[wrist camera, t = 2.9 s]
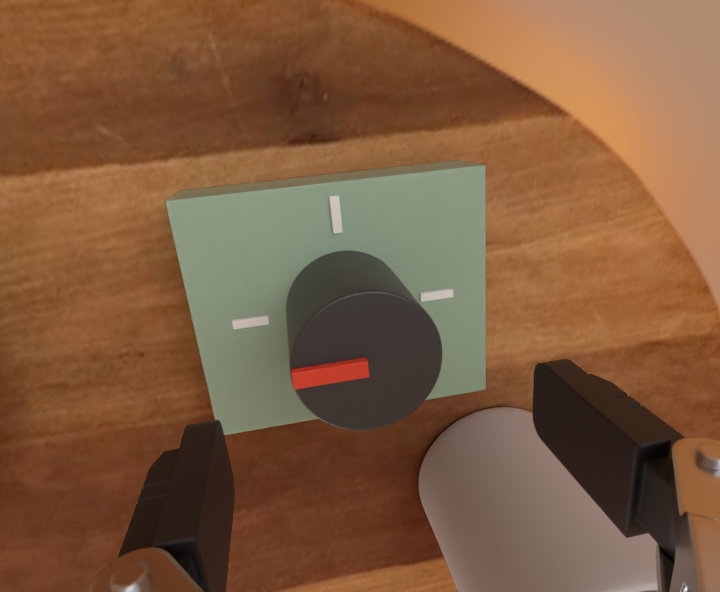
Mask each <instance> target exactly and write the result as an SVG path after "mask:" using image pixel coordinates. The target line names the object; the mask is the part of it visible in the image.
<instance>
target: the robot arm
mask: <svg viewBox="0 0 720 592" xmlns="http://www.w3.org/2000/svg"><path fill="white" fill-rule="evenodd" d="M533 423H534V426H535V429H536V432H537V434H538V436H539V438H540V439H541V440H542V441H543V443H544V444H545V445H546V446H547V447H548V448H549V450H550V451H551V452H552V453H553V454H554V455H555V457H556V458H557V459H558V460H559V461H560V462H561V463H562V465H563V466H564V467H565V468H566V469H567V470H568V472H569V473H570V474H571V475H572V476H573V477H574V478H575V480H576V481H577V482H578V483H579V484H580V485H581V487H582V488H583V489H584V490H585V491H586V492H587V493H588V495H589V496H590V497H591V498H592V499H593V500H594V502H595V503H596V504H597V505H598V506H599V507H600V509H601V510H602V511H603V512H604V513H605V514H606V515H607V517H608V518H609V519H610V520H611V521H612V522H613V524H614V525H615V526H616V527H617V528H618V529H619V530H620V532H621V533H622V534H623V535H624V536H625V537H626V538H629V537H634V536H638V535H642V534H647V533H649V535H650V536H651V537H652V538H653V539H654V540H655V541H656V542H657V546H656V570H657V588H658V592H720V441H719V440H716V439H711V438H705V437H687V438H685V437H684V436H683V435H681V434H680V433H679V432H677V431H676V430H675V429H673V428H672V427H670V426H669V425H668V424H666V423H665V422H664V421H662V420H661V419H660V418H658V417H657V416H656V415H654V414H653V413H652V412H650V411H649V410H648V409H646V408H645V407H644V406H640V403H638V402H637V401H636V400H634V399H633V398H632V397H630V396H627V394H626V393H625V392H624V391H622V390H621V389H620V388H618V387H617V386H616V385H614V384H613V383H612V382H609V381H607V380H605V379H602V378H600V377H597V376H595V375H593V374H587V373H586V372H585V371H583V370H582V369H581V368H579V367H578V366H577V365H576V364H574V363H573V362H572V361H570V360H569V359H561V360H555V361H550V362H544V363H539V364H537V365H536V367H535V370H534V390H533ZM234 499H235V492H234V480H233V473H232V468H231V464H230V460H229V455H228V451H227V446H226V442H225V437H224V433H223V428H222V425H221V422H220V421H219V420H214V421H208V422H203V423H197V424H191V425H187V426H186V427H185V430H184V434H183V437H182V441H181V445H180V448H179V449H174V450H168V451H164V452H163V454H162V455H161V456H160V457H159V458H158V459H157V460H156V461H155V463H154V464H153V465H152V466H151V467H150V469H149V472H148V474H147V477H146V480H145V483H144V489H142V491H141V494H140V497H139V500H138V501H139V504H137V505H136V508H135V511H134V514H133V517H132V520H131V522H130V525H129V528H128V531H127V534H126V536H125V539H124V542H123V545H122V548H121V551H120V553H119V556H118V558H117V559H116V560H114V561H113V562H112V563H110V564H109V565H108V566H106V567H105V568H104V569H103V570H102V571H101V572H100V573H99V574H98V575H97V577H96V578H95V579H94V581H93V582H92V583H91V585H90V587H89V589H88V591H87V592H226V582H227V572H228V562H229V551H230V541H231V531H232V520H233V510H234Z"/></svg>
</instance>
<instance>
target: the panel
mask: <svg viewBox="0 0 720 592" xmlns="http://www.w3.org/2000/svg"><path fill="white" fill-rule="evenodd" d="M165 204H166V209H167V213H168V217H169V222H170V226H171V230H172V235H173V239H174V244H175V248H176V252H177V257H178V261H179V265H180V270H181V274H182V279H183V283H184V287H185V292H186V296H187V300H188V305H189V309H190V314H191V318H192V322H193V327H194V331H195V335H196V340H197V344H198V348H199V353H200V357H201V362H202V366H203V370H204V375H205V379H206V383H207V388H208V392H209V397H210V401H211V405H212V410H213V414H214V418H215V420H219V421H220V422H221V425H222V428H223V433H224V435H228V434H234V433H240V432H245V431H251V430H257V429H263V428H268V427H274V426H280V425H286V424H291V423H297V422H303V421H308V420H314V419H319V418H318V417H316V416H315V415H313V414H312V413H311V412H310V411H309V410H308V409H307V408H306V407H305V406H304V405H303V403H302V402H301V401H300V399H299V398H298V396H297V394H296V392H295V390H294V388H293V384H292V380H291V376H290V363H289V348H288V334H287V319H286V302H287V297H288V293H289V290H290V288H291V286H292V284H293V282H294V280H295V279H296V277H297V276H298V274H299V273H300V272H301V271H302V270H303V269H304V268H305V267H306V266H307V265H308V264H310V263H311V262H313V261H314V260H316V259H317V258H319V257H322V256H324V255H326V254H329V253H332V252H338V251H359V252H364V253H367V254H370V255H372V256H374V257H376V258H378V259H380V260H381V261H383V262H384V263H385V264H386V265H387V266H389V267H390V268H391V270H392V271H393V272H394V273H395V274H396V276H397V277H398V278H399V279H400V281H401V282H402V283H403V284H404V285H405V287H406V288H407V289H408V290H409V291H410V293H411V294H412V295H413V296H414V298H415V299H416V300H417V301H418V302H419V304H420V305H421V306H422V307H423V308H424V310H425V311H426V312H427V313H428V314H429V316H430V317H431V318H432V320H433V322H434V323H435V325H436V327H437V329H438V332H439V334H440V338H441V342H442V350H443V354H442V365H441V370H440V373H439V377H438V379H437V382H436V384H435V386H434V388H433V389H432V391H431V393H430V394H429V396H428V397H427V398H426V399H425V400H429V399H434V398H440V397H446V396H452V395H457V394H463V393H469V392H475V391H480V390H485V389H486V166H485V165H483V164H477V163H472V162H466V161H461V160H453V161H444V162H435V163H426V164H416V165H407V166H398V167H389V168H380V169H371V170H362V171H353V172H344V173H335V174H326V175H317V176H308V177H299V178H290V179H281V180H272V181H262V182H253V183H244V184H235V185H226V186H217V187H208V188H199V189H190V190H181V191H179V192H178V193H176V194H175V195H174V196H172V197H171V198H169V199H168V200H166V201H165Z"/></svg>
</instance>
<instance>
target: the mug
mask: <svg viewBox="0 0 720 592" xmlns="http://www.w3.org/2000/svg"><path fill="white" fill-rule="evenodd" d="M418 483H419V494H420V498H421V502H422V505H423V508H424V510H425V513H426V515H427V518H428V520H429V522H430V524H431V527H432V529H433V531H434V534H435V536H436V538H437V541H438V543H439V546H440V548H441V551H442V553H443V556H444V558H445V561H446V563H447V566H448V568H449V571H450V573H451V576H452V578H453V581H454V583H455V586H456V588H457V591H458V592H658V588H657V570H656V546H657V542H656V541H655V540H654V539H653V538H652V537H651V536H650V535H649V533H647V534H642V535H638V536H634V537H629V538H626V537H625V536H624V535H623V534H622V533H621V532H620V530H619V529H618V528H617V527H616V526H615V525H614V524H613V522H612V521H611V520H610V519H609V518H608V517H607V515H606V514H605V513H604V512H603V511H602V510H601V509H600V507H599V506H598V505H597V504H596V503H595V502H594V500H593V499H592V498H591V497H590V496H589V495H588V493H587V492H586V491H585V490H584V489H583V488H582V487H581V485H580V484H579V483H578V482H577V481H576V480H575V478H574V477H573V476H572V475H571V474H570V473H569V472H568V470H567V469H566V468H565V467H564V466H563V465H562V463H561V462H560V461H559V460H558V459H557V458H556V457H555V455H554V454H553V453H552V452H551V451H550V450H549V448H548V447H547V446H546V445H545V444H544V443H543V441H542V440H541V439H540V438H539V436H538V434H537V432H536V429H535V426H534V423H533V413H531V412H529V411H526V410H523V409H519V408H513V407H497V408H489V409H484V410H481V411H477V412H474V413H472V414H470V415H467V416H465V417H463V418H462V419H460V420H458V421H456V422H455V423H454V424H452V425H451V426H449V427H448V428H447V429H446V430H445V431H444V432H442V433H441V434H440V435H439V437H438V438H437V439H436V440H435V441H434V442H433V444H432V445H431V447H430V448H429V450H428V452H427V453H426V455H425V457H424V460H423V462H422V465H421V468H420V473H419V482H418Z"/></svg>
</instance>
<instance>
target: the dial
mask: <svg viewBox="0 0 720 592" xmlns="http://www.w3.org/2000/svg"><path fill="white" fill-rule="evenodd" d="M286 319H287V334H288V348H289V363H290V376H291V380H292V384H293V388H294V390H295V392H296V394H297V396H298V398H299V399H300V401H301V402H302V403H303V405H304V406H305V407H306V408H307V409H308V410H309V411H310V412H311V413H312V414H313V415H315V416H316V417H318V418H319V419H320V420H322V421H324V422H326V423H328V424H330V425H333V426H336V427H339V428H343V429H349V430H371V429H377V428H381V427H385V426H388V425H390V424H393V423H395V422H397V421H399V420H401V419H403V418H405V417H406V416H408V415H409V414H411V413H412V412H413V411H414V410H416V409H417V408H418V407H419V406H420V405H421V404H422V403H423V402H424V401H425V399H426V398H427V397H428V396H429V394H430V393H431V391H432V389H433V388H434V386H435V384H436V382H437V379H438V377H439V373H440V370H441V365H442V354H443V350H442V342H441V338H440V334H439V332H438V329H437V327H436V325H435V323H434V322H433V320H432V318H431V317H430V316H429V314H428V313H427V312H426V311H425V310H424V308H423V307H422V306H421V305H420V304H419V302H418V301H417V300H416V299H415V298H414V296H413V295H412V294H411V293H410V291H409V290H408V289H407V288H406V287H405V285H404V284H403V283H402V282H401V281H400V279H399V278H398V277H397V276H396V274H395V273H394V272H393V271H392V270H391V268H390V267H389V266H387V265H386V264H385V263H384V262H383V261H381V260H380V259H378V258H376V257H374V256H372V255H370V254H367V253H364V252H359V251H338V252H332V253H329V254H326V255H324V256H322V257H319V258H317V259H316V260H314V261H313V262H311V263H310V264H308V265H307V266H306V267H305V268H304V269H303V270H302V271H301V272H300V273H299V274H298V276H297V277H296V279H295V280H294V282H293V284H292V286H291V288H290V290H289V293H288V297H287V302H286Z"/></svg>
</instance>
